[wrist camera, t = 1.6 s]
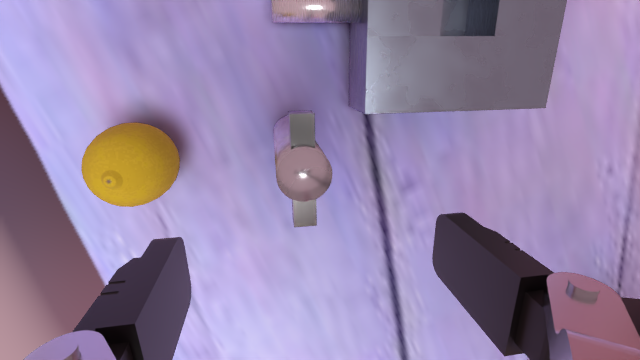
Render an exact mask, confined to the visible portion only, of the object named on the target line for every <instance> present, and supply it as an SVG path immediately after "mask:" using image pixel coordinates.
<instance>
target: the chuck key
mask: <svg viewBox="0 0 640 360" xmlns="http://www.w3.org/2000/svg"><path fill="white" fill-rule="evenodd" d="M273 135H274V149H275V164H276V178H277V183H278V186H279V188H280V190H281V191H282V192H283V193H284V194H285V195H286V196H287V197H289V198H290V199H292V209H293V222H294V227H303V226H316V225H317V224H316V199H317V198H319V197H320V196H321V195H323V194H324V193H325V192H326V191H327V189H328V188H329V186H330V183H331V180H332V168H331V165H330V163H329V161H328V159H327V158H326V156H325V155H324V153H323V152H322V150H321V149H320V147H319V145H318V144H317V142H316V141H315V119H314V113H313V112H312V111H288V116H285V117H283V118H281V119H279V120H278V121H277V123H276V124H275V126H274V130H273Z"/></svg>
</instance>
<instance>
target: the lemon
mask: <svg viewBox="0 0 640 360" xmlns="http://www.w3.org/2000/svg"><path fill="white" fill-rule="evenodd" d="M179 165H180V158H179V154H178V150H177V148H176V146H175V144H174V142H173V141H172V140H171V139H170V138H169V136H168V135H167V134H165V133H164V132H163V131H161V130H160V129H158V128H156V127H153V126H151V125H148V124H142V123H123V124H119V125H116V126H113V127H110V128H108V129H107V130H105V131H104V132H102V133H101V134H99V135H98V136H96V137H95V139H94V140H93V141H92V142H91V143H90V145H89V146H88V147H87V149H86V151H85V154H84V156H83V159H82V174H83V179H84V180H85V182H86V184H87V186H88V188H89V189H90V190H91V191H92V192H93V194H94V195H96V196H97V197H99V198H100V199H101V200H103V201H105V202H108V203H110V204H113V205H117V206H129V207H133V206H138V205H143V204H146V203H149V202H151V201H153V200H155V199H157V198H159V197H160V196H161V195H163V194H164V193H165V192H166V191H167V190H168V189H169V188H170V187H171V186H172V184H173V183H174V181H175V180H176V178H177V174H178V171H179Z"/></svg>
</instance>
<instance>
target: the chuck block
mask: <svg viewBox="0 0 640 360" xmlns="http://www.w3.org/2000/svg"><path fill="white" fill-rule="evenodd" d="M271 2H272V20H273V22H310V23H350V57H349V107H351V108H353V109H355V110H357V111H359V112H362V113H364V114H383V113H413V112H442V111H472V110H502V109H532V108H546V103H547V98H548V93H549V87H550V82H551V77H552V72H553V67H554V62H555V57H556V52H557V47H558V42H559V37H560V32H561V27H562V22H563V17H564V12H565V7H566V2H567V0H271Z"/></svg>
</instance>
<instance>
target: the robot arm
mask: <svg viewBox="0 0 640 360" xmlns="http://www.w3.org/2000/svg"><path fill="white" fill-rule="evenodd" d="M433 266H434V269H435V272H436V274H437V275H438V277H439V278H440V279H441V280H442V282H443V283H444V284H445V285H446V286H447V288H448V289H449V290H450V291H451V292H452V294H453V295H454V296H455V297H456V298H457V300H458V301H459V302H460V303H461V305H462V306H463V307H464V308H465V309H466V311H467V312H468V313H469V314H470V315H471V317H472V318H473V319H474V320H475V321H476V323H477V324H478V325H479V326H480V327H481V329H482V330H483V331H484V332H485V333H486V335H487V336H488V337H489V338H490V339H491V341H492V342H493V343H494V344H495V345H496V347H497V348H498V349H499V350H500V351H501V353H502V354H503V355H504V356H509V355H515V354H522V353H525V354H526V355H527V357H528V359H527V360H640V299H632V298H622V297H620V296H619V295H618V294H617V293H616V292H615V291H614V290H613V289H611V288H610V287H608V286H607V285H605V284H603V283H601V282H599V281H597V280H595V279H592V278H590V277H587V276H583V275H579V274H575V273H568V272H558V273H554V272H552V271H551V270H549V269H548V268H547V267H545V266H544V265H542V264H541V263H540V262H538V261H537V260H535V259H534V258H533V257H531V256H530V255H528V254H527V253H525V252H524V251H523V250H521V251H520V248H518V247H517V246H516V245H514V244H513V243H510V241H509V240H507V239H506V238H504V237H503V236H501V235H500V234H499V233H497V232H495V231H493V230H490V229H488V228H485V227H483V226H482V225H480V224H479V223H478V222H476V221H475V220H474V219H472V218H471V217H469V216H468V215H467V214H465V213H452V214H441V215H439V216H438V218H437V221H436V228H435V238H434V248H433ZM190 300H191V281H190V275H189V269H188V264H187V258H186V252H185V246H184V242H183V239H182V238H181V237H176V238H164V239H154V240H152V241H151V243H150V244H149V246H148V248H147V249H146V251H145V252H144V254H143V255H142V257H141V258H133V259H132V260H130V261H129V262H128V263H126V264H125V265H123V266H122V267H121V268H119V269H118V270H117V271H116V273H115V274H114V275H113V277H112V278H111V280H110V281H109V284H108V285H106V286H105V288H104V289H103V291H102V292H101V296H98V297H97V299H96V300H95V302H94V303H93V304H92V306H91V307H90V308H89V310H88V311H87V313H86V314H85V315H84V317H83V318H82V319H81V321H80V322H79V324H78V325H77V326H76V328H75V329H74V330H73V332H72V333H68V334H65V335H62V336H59V337H57V338H55V339H53V340H51V341H49V342H47V343H45V344H43V345H42V346H40V347H38V348H37V349H35V350H34V351H33V352H31V353H30V354H29V355H28V356H27V357H25V358H24V359H23V360H172V359H173V356H174V352H175V349H176V346H177V343H178V340H179V337H180V333H181V330H182V327H183V324H184V321H185V318H186V314H187V311H188V308H189V305H190Z"/></svg>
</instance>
